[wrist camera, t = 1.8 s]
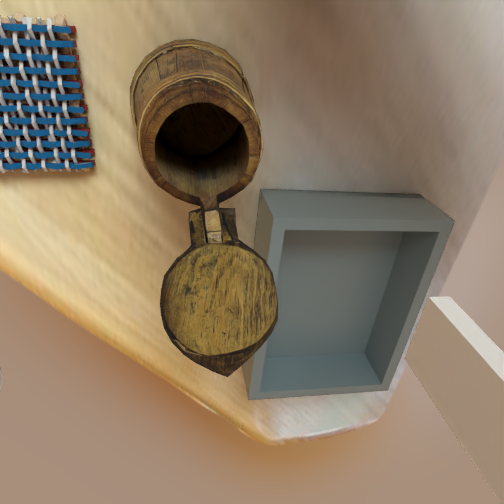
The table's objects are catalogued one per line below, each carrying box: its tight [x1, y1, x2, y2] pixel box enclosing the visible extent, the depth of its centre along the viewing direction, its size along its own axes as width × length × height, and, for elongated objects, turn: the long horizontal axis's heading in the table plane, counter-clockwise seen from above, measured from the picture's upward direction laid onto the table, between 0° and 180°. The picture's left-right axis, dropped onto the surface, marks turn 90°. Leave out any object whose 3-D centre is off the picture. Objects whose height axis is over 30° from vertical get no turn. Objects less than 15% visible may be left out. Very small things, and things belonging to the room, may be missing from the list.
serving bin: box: [242, 189, 455, 400], centre depth 38 cm, size 20×15×6 cm
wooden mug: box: [130, 39, 278, 377], centre depth 23 cm, size 9×14×18 cm, turn 2°
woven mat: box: [0, 13, 95, 174], centre depth 27 cm, size 10×11×2 cm
